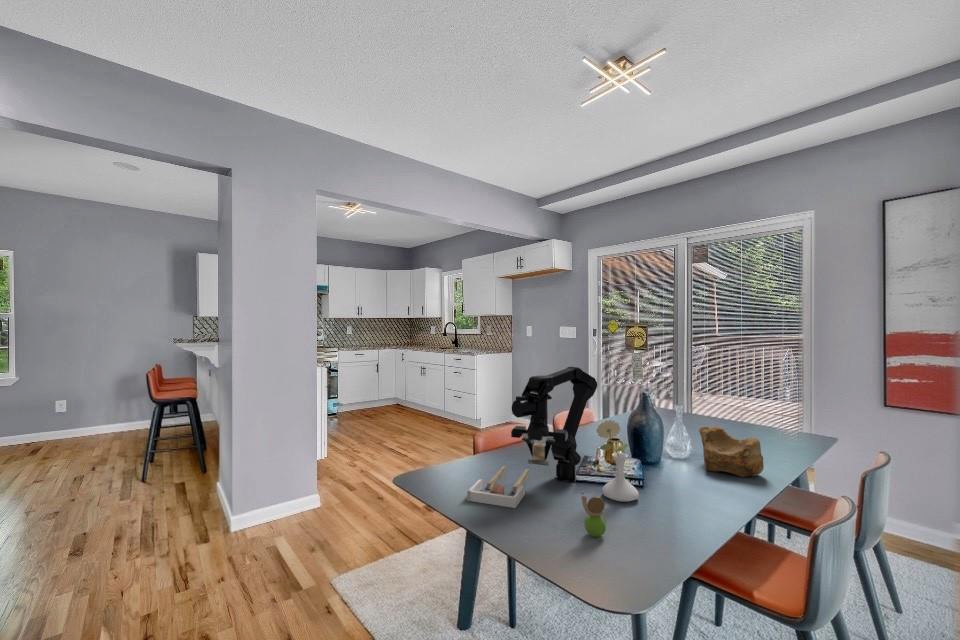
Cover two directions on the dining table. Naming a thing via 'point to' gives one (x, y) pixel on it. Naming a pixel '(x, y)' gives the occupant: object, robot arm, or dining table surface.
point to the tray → (494, 496)
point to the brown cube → (500, 487)
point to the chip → (496, 491)
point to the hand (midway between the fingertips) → (539, 458)
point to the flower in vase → (619, 485)
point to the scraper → (539, 455)
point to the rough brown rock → (730, 453)
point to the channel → (501, 473)
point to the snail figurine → (594, 516)
